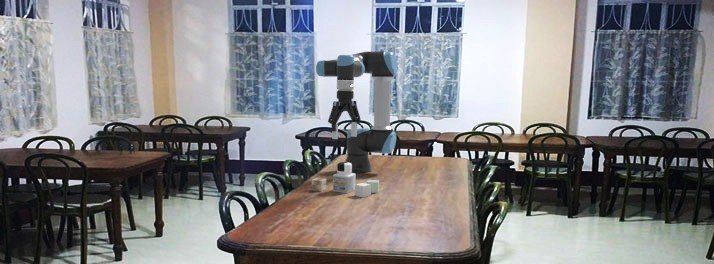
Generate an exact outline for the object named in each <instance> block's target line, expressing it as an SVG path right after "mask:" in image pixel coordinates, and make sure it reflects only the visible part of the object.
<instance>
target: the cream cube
mask: <svg viewBox="0 0 714 264" xmlns="http://www.w3.org/2000/svg"><path fill="white" fill-rule="evenodd" d="M354 196H356V197H358V198H362V197H363V198H366V197H367V196H368V197H372V193H371V185H370V184H367V182H361V183H356V184H355V190H354Z"/></svg>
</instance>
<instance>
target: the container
mask: <svg viewBox="0 0 714 264" xmlns="http://www.w3.org/2000/svg"><path fill="white" fill-rule="evenodd" d="M336 166H337V167H336V170H337V171H336V173H334V174H333V175H332V191H333V192H336V193H342V194H349V193H351V192H355V184H357V183H356V182H357V181H356V173H354V172H352V164H351V163H349V162H345V161H339V162H338V163H337V165H336Z"/></svg>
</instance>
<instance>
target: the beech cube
mask: <svg viewBox="0 0 714 264" xmlns="http://www.w3.org/2000/svg"><path fill="white" fill-rule="evenodd" d="M325 189H326V190H327V178H322V177H315V178H312V179H311V191H312V190H313V191H314V192H321V191H322V192H324V191H326V190H325ZM323 190H324V191H323Z"/></svg>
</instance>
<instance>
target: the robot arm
mask: <svg viewBox="0 0 714 264" xmlns="http://www.w3.org/2000/svg"><path fill="white" fill-rule="evenodd" d="M315 66H316V67H315V71H316V75H317V76H319V77H323V78H325V77H329V78H331V77H333V78H334V77H336V90H337V91H336V99H337V100H335V101H333V102H332V109H331V110H330V112H329V113H330V114H329V117H328V119H327V120H328V121H327V123H329V124H330V125H331V139H332V140H338V139H339V124H338V121H339V120H340V118H341V116H342V114H343V113H344V112H347V114H348V116H349V117H350V119H351V121H352V122H351V123H350V129H349V130H348V131H347V135H346V147H347V148H346V151H347V152H346V153H347V154H346V159H345V161H344V162H349V163H351V164H352V172H351V173H354V174H356V173H359V174H360V173H370V172H371V171H372V165H371V161H370V158H369V153H373V154H374V153H375V154H391V153H393V151H394V150H395V147H396V142H397V133H396V132H395V131H394V130H393V127H392V126H391V87H392V86H391V84H392V83H391V81H392V79H394V75H395V74H398V73H397V72H398V69H399V66H398V60H397V56H396V54H395V53H394V52H393V51H386V50H384V51H379V50H378V51H362V52H357V53H354V54H340V55H338V56H337V58H336V59H335V58H334V59H330V60H325V59H324V60H318V61H317V63H316V65H315ZM364 74H371V79H373V80H374V89H373V90H374V91H373V92H374V93H373V96H374V97H373V98H374V100H373V101H374V103H373V104H374V105H373V106H374V108H373V113H374V115H373V125H372V126H371V128H370V129H369V128H368V127H361V128H360V127H359V128H358V123H360V121H361V117H360V115H361V114H360V113H359V109H358V106H357V100H353V99H354V97H355V96H354V95H355V94H354V81H355V80H354V79H355V78H359V77H362V76H363V75H364Z"/></svg>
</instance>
